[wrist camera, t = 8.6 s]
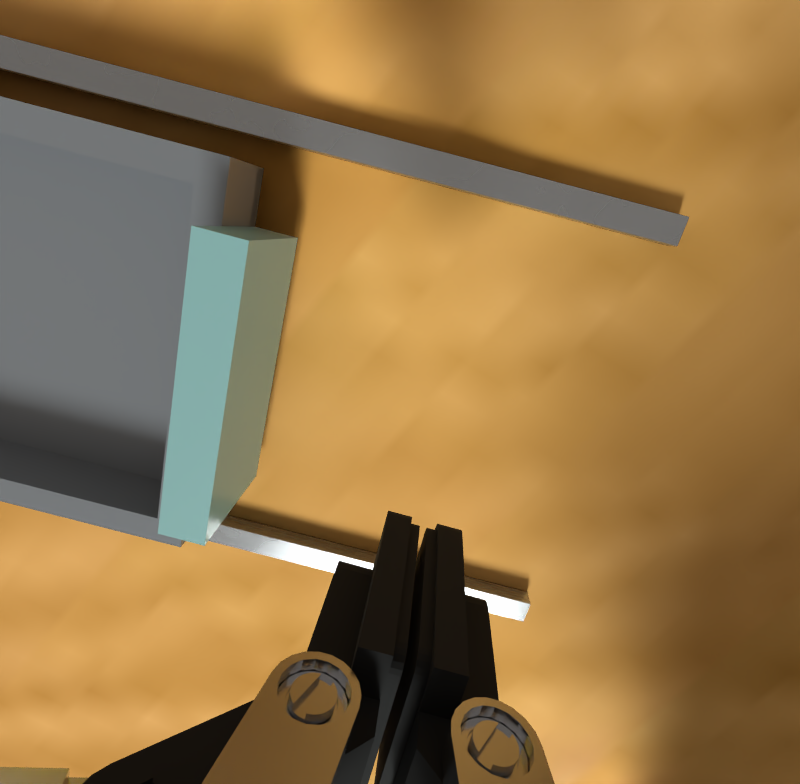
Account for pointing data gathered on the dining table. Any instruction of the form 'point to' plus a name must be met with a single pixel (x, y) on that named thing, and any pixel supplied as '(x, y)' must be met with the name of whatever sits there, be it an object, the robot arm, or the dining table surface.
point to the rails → (360, 151)
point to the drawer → (132, 325)
